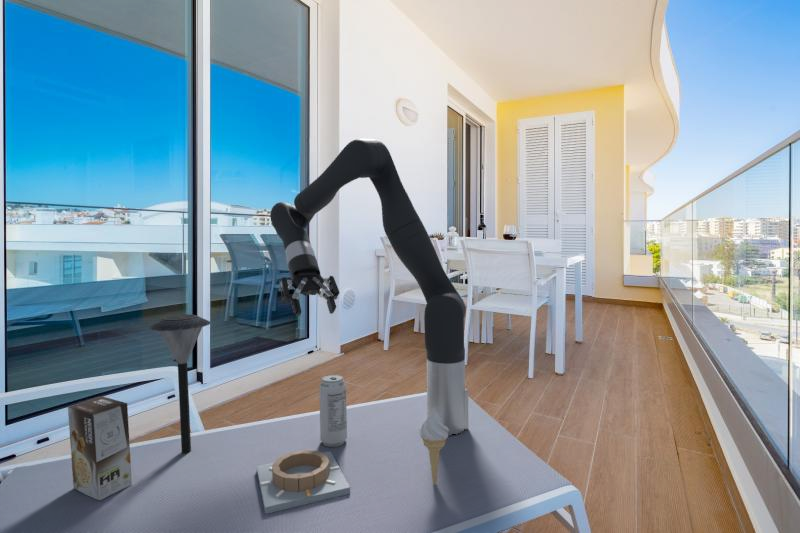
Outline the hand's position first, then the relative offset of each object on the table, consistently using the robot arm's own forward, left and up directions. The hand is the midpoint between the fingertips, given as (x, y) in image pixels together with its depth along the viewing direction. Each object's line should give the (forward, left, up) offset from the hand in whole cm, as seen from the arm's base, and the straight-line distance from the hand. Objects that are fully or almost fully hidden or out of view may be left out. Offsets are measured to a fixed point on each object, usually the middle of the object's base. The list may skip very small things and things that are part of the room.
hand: (316, 313), depth 110 cm
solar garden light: (+30, +1, -28) cm, 41 cm away
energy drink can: (-1, +10, -29) cm, 30 cm away
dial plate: (+9, +24, -28) cm, 38 cm away
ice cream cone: (-14, +35, -28) cm, 47 cm away
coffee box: (+44, +10, -29) cm, 53 cm away
